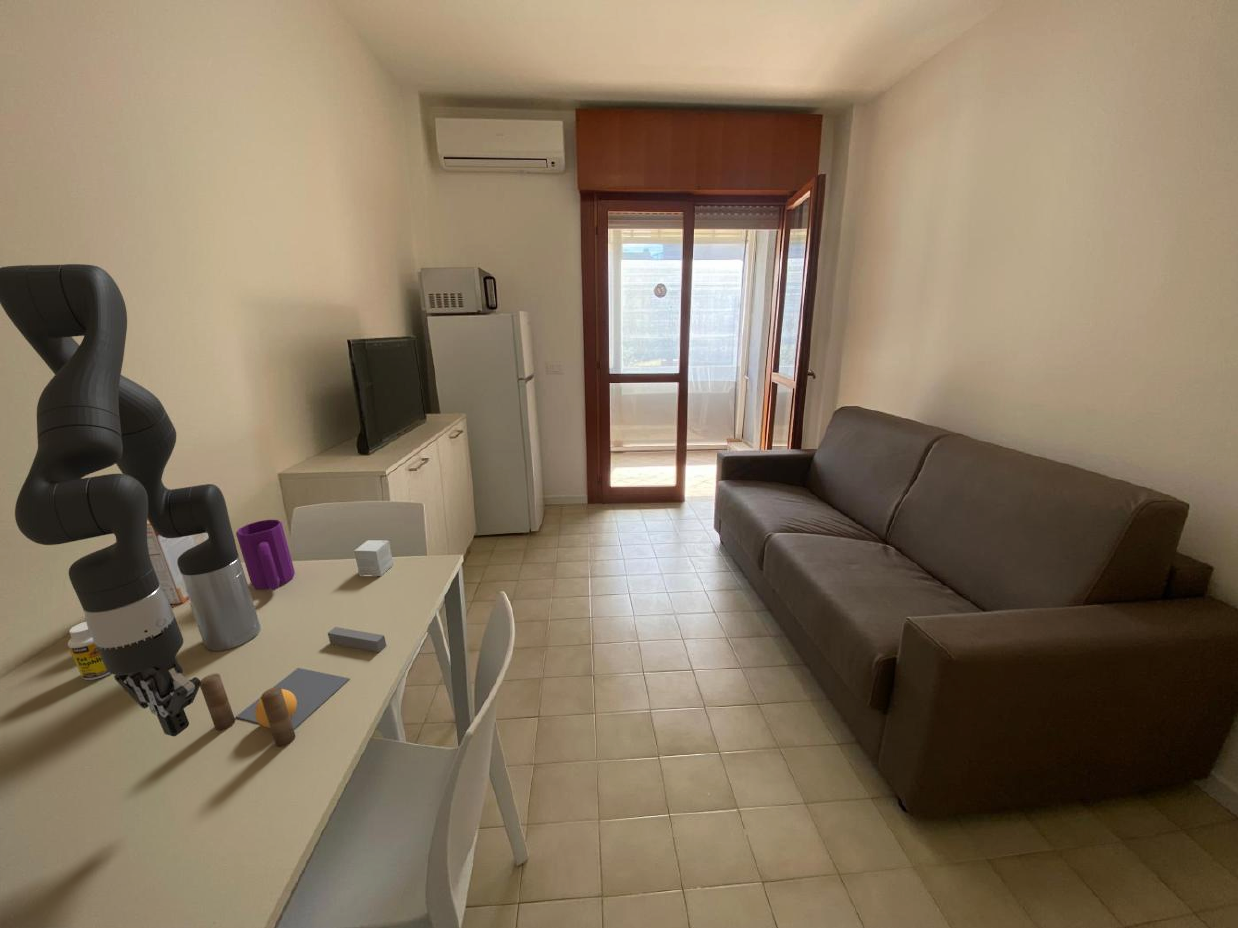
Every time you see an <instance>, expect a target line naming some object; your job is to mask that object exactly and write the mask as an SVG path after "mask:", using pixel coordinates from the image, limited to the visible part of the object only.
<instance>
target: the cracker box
mask: <svg viewBox="0 0 1238 928" xmlns="http://www.w3.org/2000/svg"><path fill="white" fill-rule="evenodd" d="M208 538H209V537H208V533H201V534H196V535H190V536H184V537H179V538H164V537H162V536H160V535H159V534H158V533H157V532H156V531H155V530H154V529H153V527H152V526H151V524H150V522H149V521H148V519H147V543H148V550H149V556H150V559H151V562H152V565H153V568H154V570H155V573H156V575H157V578H158V581H159V584H160V586H161V588H162V589H163V591H164V593H165V594H166V596H167V598H168V600H169V602H170V605H180V604H183V603H185V602H187V601H188V600H190V598H189V595H188V592H187V589H186V587H185V584H184V581H183V578H182V575H181V572H180V570H179V567H178V564H177V560H178V558H179V556H180V555H181V554H183V553H184V552H185V551H187V550H189V549H191V548H193V547H195V546H197V545H199V544H201V543H202V542H204V541H206V540H207V539H208Z"/></svg>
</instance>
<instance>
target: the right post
mask: <svg viewBox="0 0 1238 928" xmlns="http://www.w3.org/2000/svg"><path fill="white" fill-rule="evenodd" d="M260 697H261V700H262V703H263V706H264V709H265V712H266V715H267V718H268V722H269V725H270V727H269V728H270V730H271V734H272V736H273V739H274V743H275V746H277V747H278V748H282V747H285V746H288V745H289V744H291V743H293V742H294V740H295V738H296V733H295V730H294V729H293V726H292V723H291V720H290V716H289V713H288V710H287V706H286V703H285V700H284V696H283V693H282V690H281V688H279V687H275V688H273V687H271V688H269V689H267V690H265V691H264V692H263V693H262V694H261V696H260Z"/></svg>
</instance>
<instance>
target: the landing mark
mask: <svg viewBox="0 0 1238 928" xmlns="http://www.w3.org/2000/svg"><path fill="white" fill-rule="evenodd" d="M349 681H351V678H350V677H345V676H339V675H334V674H330V673H325V672H320V671H315V670H311V669H306V668H301V667H297V668H296V669H294V670H293V671H292V672H291V673H289V674H288V675H287V676H285V677H284V678H283V679H281V681H279V682H278V683H277V684H275V685H274V686H273V687H272V688H275V687H279V688H281V689H285V690H288V691H290V692H292V693H293V694H294V696H295V697H296V700H297V707H296V710H295V712H294V714H293V716H292V717H291V718H290V720H291V723H292V726H293V729H294V731H295V730H296V729H297V728H298V727H299V726H300V725H302V724H303V722H305V721H306V720H307V719H308V718H309V717H311V715H312V714H314V713H315V712H316V711H317V710H318V709H319V708H320V707H321V706H322V705H324V704H325V702H327V701H328V700H329V699H330V698H331V697H332V696H334V695H335V694H336V692H338V691H339V690H340V689H341V688H342V687H343V686H344V685H345V684H347V682H349ZM260 699H261V696H259V698H257V700H255V701H254V702H252V704H250V705H249V706H248V707H246V708H245V709H243V710H242V711H241V712H240V713H238V714H237V715H236V716H235V719H236V718H237V719H240V720H244V721H248V722H250V723H251V722H252V723H255V724H259V723H258V721H257V720H256V717H255V709H256V706H257V704H258V702H259V701H260Z"/></svg>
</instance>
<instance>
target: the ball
mask: <svg viewBox="0 0 1238 928" xmlns="http://www.w3.org/2000/svg"><path fill="white" fill-rule="evenodd" d="M281 690H282V693H283V696H284V700H285V703H286V706H287V710H288V713H289V716H290V718H291V717H292V716H293V714H294V712H295V710H296V707H297V700H296V697H295V696H294V694H293V693H292V692H290V691H288V690H285V689H281ZM255 717H256V720H257V721H258V723H257V724H259V725H261V726H262V727H265V728H270V725H269V722H268V718H267V715H266V712H265V709H264V706H263V703H262V700H261V699H260V701H259V702H258V704H257V706H256V709H255Z"/></svg>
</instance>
